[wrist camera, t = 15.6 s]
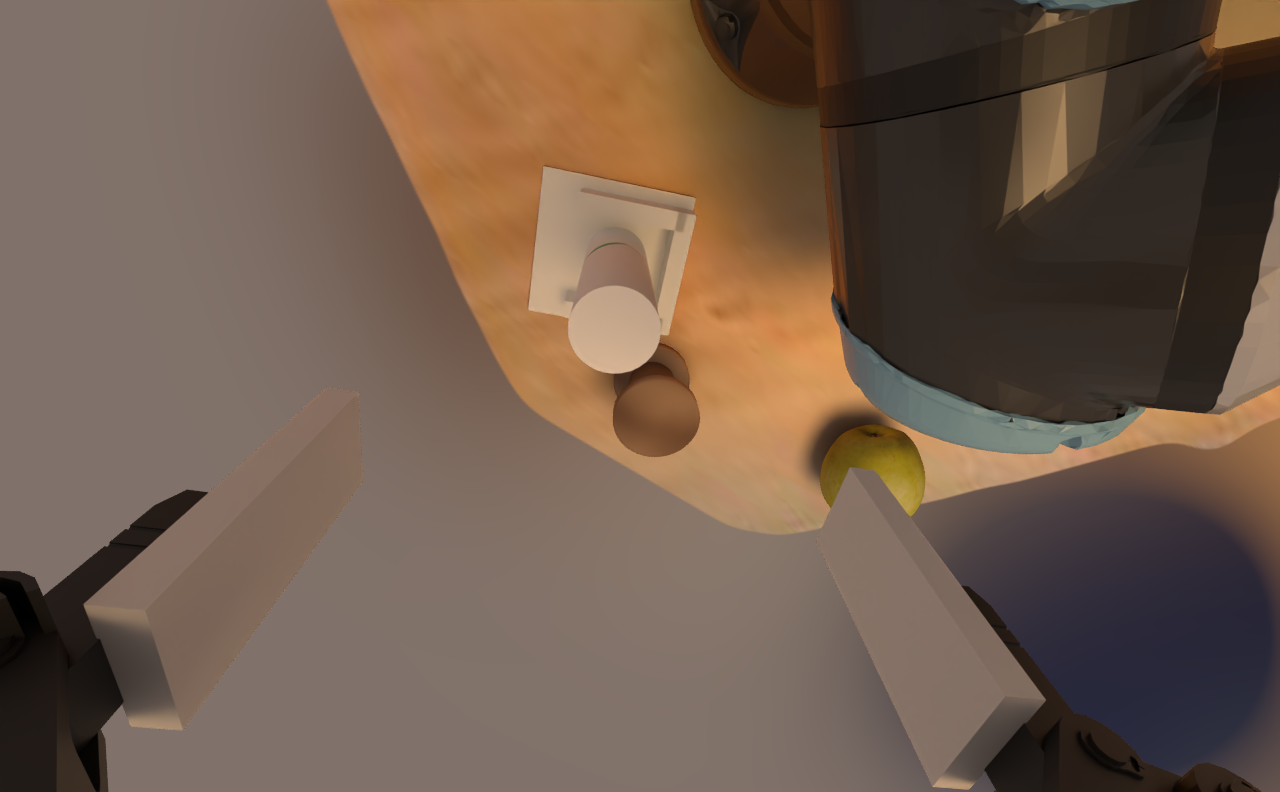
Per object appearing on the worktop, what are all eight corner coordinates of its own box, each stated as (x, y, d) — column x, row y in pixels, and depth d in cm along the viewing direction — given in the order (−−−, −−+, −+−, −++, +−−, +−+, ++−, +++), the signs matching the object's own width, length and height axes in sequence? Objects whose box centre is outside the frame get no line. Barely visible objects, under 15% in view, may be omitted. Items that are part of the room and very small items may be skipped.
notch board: (544, 165, 35) (538, 169, 32) (695, 197, 36) (701, 203, 34) (529, 308, 40) (522, 321, 37) (664, 331, 41) (667, 346, 38)
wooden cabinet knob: (621, 336, 41) (621, 374, 35) (695, 349, 42) (709, 389, 35) (608, 403, 43) (606, 450, 37) (678, 415, 44) (688, 462, 38)
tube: (656, 243, 37) (677, 310, 24) (630, 297, 39) (636, 386, 26) (600, 216, 36) (590, 269, 23) (576, 272, 38) (553, 352, 25)
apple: (803, 496, 49) (835, 559, 42) (812, 410, 44) (848, 464, 37) (887, 490, 49) (933, 552, 42) (903, 403, 44) (957, 456, 37)
